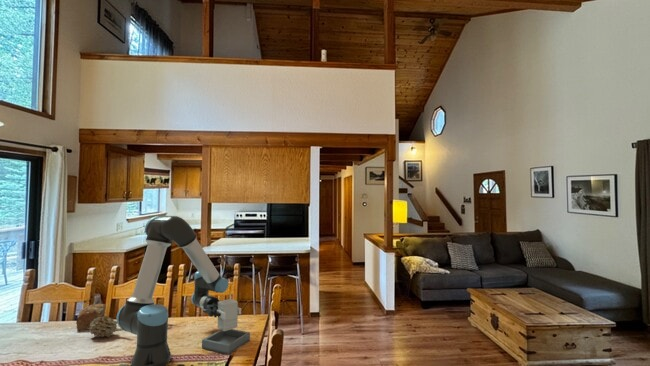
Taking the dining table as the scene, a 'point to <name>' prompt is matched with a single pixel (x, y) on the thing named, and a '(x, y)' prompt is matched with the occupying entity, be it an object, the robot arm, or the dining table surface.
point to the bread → (89, 315)
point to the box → (226, 341)
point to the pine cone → (103, 326)
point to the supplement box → (228, 314)
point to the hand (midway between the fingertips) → (232, 313)
